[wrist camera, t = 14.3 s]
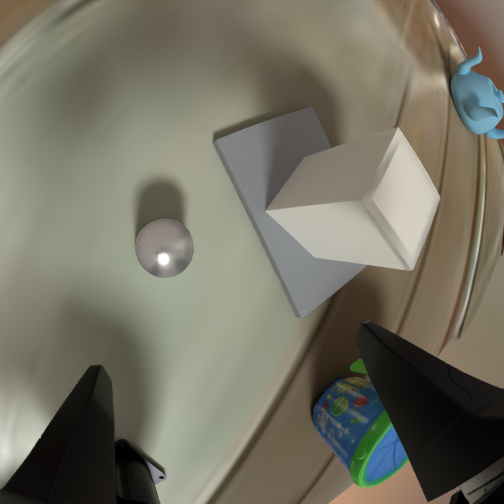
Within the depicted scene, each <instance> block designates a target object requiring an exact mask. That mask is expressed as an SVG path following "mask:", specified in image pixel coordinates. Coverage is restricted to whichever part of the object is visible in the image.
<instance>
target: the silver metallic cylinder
mask: <svg viewBox="0 0 504 504" xmlns="http://www.w3.org/2000/svg"><path fill="white" fill-rule="evenodd" d="M135 251H136V255H137V257H138V260H139V262H140V264H141V265H142V267H143V268H144V269H145V270H146V271H147V272H149V273H150V274H152V275H154V276H157V277H163V278H166V277H173V276H175V275H177V274H179V273H181V272H182V271H183V270H185V269H186V267H187V266H188V265H189V263H190V261H191V259H192V256H193V252H194V244H193V239H192V236H191V234H190V232H189V231H188V229H187V228H186V227H185V226H184V225H183V224H181V223H180V222H178V221H176V220H173V219H168V218H162V219H157V220H154V221H152V222H150V223H148V224H146V225H145V226H144V227H143V228H142V229H141V230H140V231H139V233H138V235H137V237H136V241H135Z"/></svg>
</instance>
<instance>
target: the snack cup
mask: <svg viewBox="0 0 504 504" xmlns="http://www.w3.org/2000/svg"><path fill="white" fill-rule="evenodd" d="M350 370H351V371H353V372H358V373H362V374H365V375H368V374H367V371H366V368H365V366H364V363H363V361H362V358H360V359H358V360H357V361H356V362H354V363H352V364H351V365H350ZM312 419H313V424H314V426H315V429H316V431H317V432H318V433H319V434H320V436H321V437H322V438H323V439H324V441H325V442H326V443H327V444H328V446H329V447H330V448H331V449H332V451H333V452H334V453H335V454H336V456H337V457H338V458H339V459H340V460H341V461H342V463H343V464H344V465H345V466H346V467H347V468H348V469H349V472H350V475H351V477H352V478H353V481H354V483H355V484H356V485H358V486H360V487H373V486H376V485H378V484H380V483H382V482H384V481H386V480H387V479H388V478H390V477H391V476H393V475H394V474H395V473H396V472H397V471H399V470H400V469H401V468H402V467H403V466H404V465H405V463H407V462H408V460H409V459H408V456H407V454H406V452H405V450H404V448H403V446H402V444H401V441H400V439H399V437H398V435H397V433H396V431H395V429H394V427H393V425H392V423H391V421H390V419H389V417H388V415H387V412H386V410H385V408H384V406H383V404H382V402H381V400H380V398H379V396H378V394H377V392H376V390H375V389H374V387H373V385H372V383H371V381H369V380H366V379H362V378H359V377H347V378H344V379H338V380H336V381H335V382H334V383H333V385H331V386H330V387H329V388H328V389H327V390H326V391H325V392H324V393H323V394H322V396H321V397H320V399H319V400H318V402H317V403H316V404H315V406H314V408H313V417H312Z"/></svg>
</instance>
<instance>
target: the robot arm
mask: <svg viewBox="0 0 504 504" xmlns="http://www.w3.org/2000/svg"><path fill="white" fill-rule="evenodd" d="M356 345H357V348H358V350H359V353H360V355H361V358H362V361H363V363H364V366H365V368H366V371H367V374H368V376H369V378H370V381H371V383H372V385H373V387H374V389H375V390H376V392H377V394H378V396H379V398H380V400H381V402H382V404H383V406H384V408H385V410H386V412H387V415H388V417H389V419H390V421H391V423H392V425H393V427H394V429H395V431H396V433H397V435H398V437H399V439H400V441H401V444H402V446H403V448H404V450H405V452H406V454H407V456H408V459H409V461H410V462H411V465H412V468H413V470H414V472H415V474H416V477H417V479H418V481H419V483H420V486H421V488H422V490H423V492H424V495H425V497H426V499H427V501H428V502H430V501H432V500H434V499H436V498H438V497H440V496H441V495H443V494H445V493H447V492H449V491H451V490H453V489H455V488H456V487H458V486H459V487H460V490H458V491H457V492H456V493H455V494H453V495H452V497H451V500H450V503H449V504H504V389H502V388H498V387H496V386H493V385H491V384H489V383H486V382H484V381H482V380H479V379H477V378H475V377H472V376H470V375H468V374H466V373H464V372H462V371H460V370H459V369H457V368H455V367H453V366H451V365H449V364H446V362H444V361H442V360H440V359H439V358H437V357H435V356H433V355H432V354H430V353H428V352H426V351H424V350H423V349H421V348H419V347H417V346H415V345H414V344H412V343H410V342H408V341H407V340H405V339H403V338H401V337H399V336H398V335H396V334H394V333H392V332H391V331H389V330H387V329H385V328H383V327H382V326H380V325H378V324H376V323H375V322H373V321H367V322H363V323H361V324H360V326H359V329H358V333H357V336H356ZM121 444H124V446H123V445H121ZM166 478H167V476H166V474H165V473H164V472H163V471H162V470H161V469H159V468H158V467H157V466H155V465H154V464H153V463H152V462H151V461H149V460H148V459H147V458H146V457H145V456H143V455H142V454H141V453H140V452H139V451H138V450H136V449H135V448H134V447H133V446H132V445H131V444H130V443H129V442H127V441H126V440H122V439H121V440H118V441H116V442H115V443H114V409H113V393H112V382H111V379H110V377H109V375H108V374H107V372H106V370H105V369H104V367H103V366H102V365H91V366H90V367H89V368H88V369H87V371H86V372H85V373H84V375H83V376H82V378H81V379H80V380H79V382H78V383H77V384H76V386H75V387H74V389H73V390H72V391H71V393H70V394H69V396H68V397H67V398H66V400H65V401H64V403H63V404H62V406H61V407H60V409H59V410H58V411H57V413H56V414H55V416H54V417H53V419H52V420H51V422H50V423H49V425H48V426H47V428H46V429H45V431H44V432H43V434H42V435H41V438H39V440H38V441H37V443H36V444H35V446H34V447H33V449H32V450H31V452H30V453H29V455H28V456H27V458H26V459H25V460H24V462H23V463H22V464H21V465H20V467H19V468H18V469H17V471H16V472H15V473H14V474H13V476H12V477H11V478H10V480H9V481H8V482H7V483H6V485H5V486H4V487H3V488H2V489H0V504H160V501H159V497H158V494H157V490H156V487H155V484H157V483H159V482H161V481H163V480H165V479H166Z"/></svg>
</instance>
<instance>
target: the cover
mask: <svg viewBox="0 0 504 504" xmlns="http://www.w3.org/2000/svg"><path fill="white" fill-rule="evenodd" d="M439 201H440V196H439V194H438V192H437V190H436V188H435V186H434V184H433V183H432V181H431V179H430V177H429V175H428V174H427V172H426V170H425V168H424V167H423V165H422V163H421V162H420V160H419V158H418V157H417V155H416V154H415V152H414V150H413V149H412V147H411V146H410V144H409V143H408V141H407V139H406V138H405V136H404V135H403V133H402V132H401V131H400V129H399V128H398V127H397V128H394V129H390V130H387V131H383V132H380V133H377V134H373V135H370V136H367V137H364V138H361V139H357V140H354V141H351V142H348V143H345V144H342V145H339V146H336V147H333V148H330V149H327V150H324V151H321V152H318V153H315V154H313V155H310V156H307V157H304V159H303V160H302V161H301V163H300V164H299V165H298V167H297V168H296V169H295V171H294V172H293V173H292V175H291V176H290V178H289V179H288V180H287V182H286V183H285V184H284V186H283V187H282V188H281V190H280V191H279V193H278V194H277V195H276V197H275V198H274V199H273V201H272V202H271V204H270V205H269V206H268V208H267V209H266V210H265V211H266V212H267V213H268V214H269V215H270V216H271V217H272V218H273V219H274V220H275V221H276V222H278V223H279V224H280V225H281V226H282V227H283V228H284V229H285V230H286V231H287V232H288V233H289V234H290V235H291V236H293V237H294V238H295V239H296V240H297V241H298V242H299V243H300V244H301V245H302V246H303V247H304V248H305V249H306V250H307V251H308V252H309V253H311V254H312V255H313V256H314V257H315V258H322V259H329V260H337V261H344V262H351V263H359V264H366V265H373V266H380V267H387V268H395V269H402V270H409V271H413V268H414V266H415V264H416V261H417V259H418V257H419V254H420V252H421V249H422V247H423V245H424V242H425V239H426V237H427V234H428V232H429V229H430V226H431V224H432V221H433V218H434V215H435V213H436V210H437V207H438V204H439Z"/></svg>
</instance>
